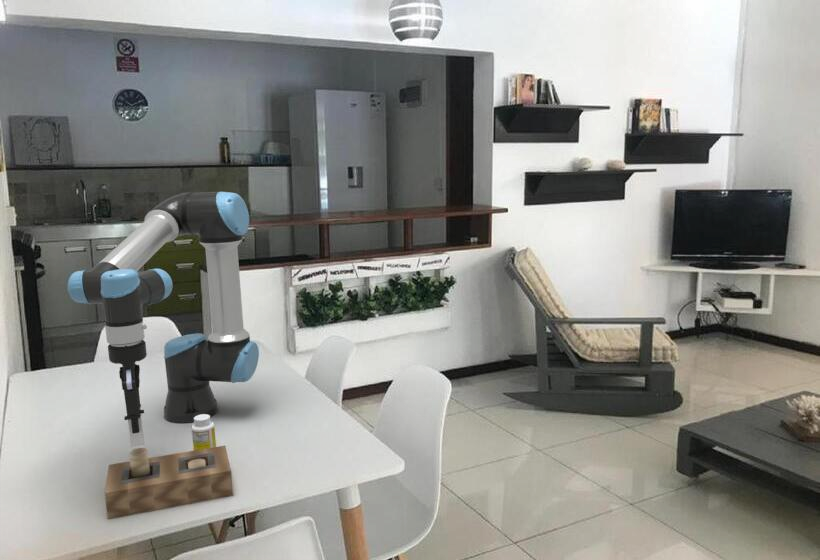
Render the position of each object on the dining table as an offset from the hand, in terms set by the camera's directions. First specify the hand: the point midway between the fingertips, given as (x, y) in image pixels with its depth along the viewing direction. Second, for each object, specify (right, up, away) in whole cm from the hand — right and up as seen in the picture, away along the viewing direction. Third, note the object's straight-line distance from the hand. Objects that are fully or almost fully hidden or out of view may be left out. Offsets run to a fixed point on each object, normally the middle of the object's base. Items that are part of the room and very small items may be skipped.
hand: (137, 444), depth 152 cm
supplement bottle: (+8, -8, +23) cm, 26 cm away
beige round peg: (0, -8, +2) cm, 8 cm away
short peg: (+12, -11, +7) cm, 17 cm away
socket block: (+6, -12, +5) cm, 14 cm away
